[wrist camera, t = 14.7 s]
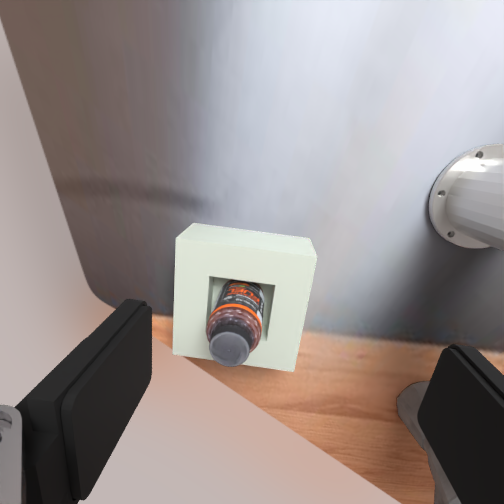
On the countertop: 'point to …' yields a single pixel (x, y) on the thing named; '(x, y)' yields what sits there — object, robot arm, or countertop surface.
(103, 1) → the countertop surface
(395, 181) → the countertop surface
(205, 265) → the sage block
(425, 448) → the coffeepot
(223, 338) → the supplement bottle
